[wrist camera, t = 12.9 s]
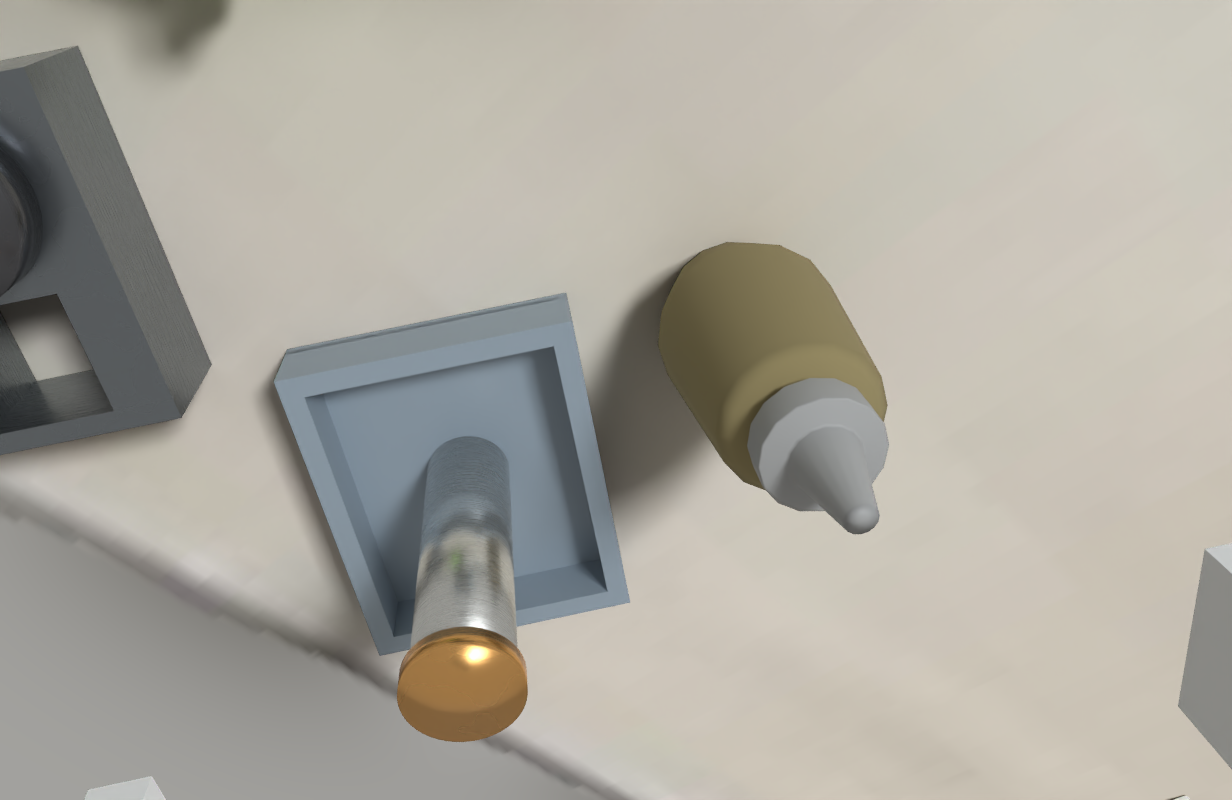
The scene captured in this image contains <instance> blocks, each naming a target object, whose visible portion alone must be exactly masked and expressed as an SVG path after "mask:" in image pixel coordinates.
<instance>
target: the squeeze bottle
mask: <svg viewBox="0 0 1232 800" xmlns="http://www.w3.org/2000/svg"><path fill="white" fill-rule="evenodd" d="M658 347H659V350H660V353H661V356H662V359H663V362H664V365H665V368H666V371H667V374H668V376H669V378H670V379H671V381H672V382H673V384H674V386H675V387H676V389H677V390H678V392H679V393H680V395H681V396H682V398H683V399H684V401H685V403H686V404H687V406H688V407H689V409H690V410H691V412H692V413H693V415H694V416H695V418H696V420H697V421H698V423H699V424H700V426H701V427H702V429H703V430H704V432H705V434H706V435H707V437H708V438H709V440H710V441H711V443H712V444H713V446H714V447H715V449H716V451H717V452H718V454H719V455H720V457H721V458H722V460H723V461H724V462H725V464H726V465H727V466H728V467H729V468H730V469H731V470H732V471H733V472H734V473H735V474H736V475H737V476H738V477H739V478H740V479H741V480H742V481H743V482H745V483H748V484H750V485H753V486H756V487H758V488H761V489H764V490H766V491H767V492H768V493H769V494H770V495H771V496H772V497H773V498H774V499H775V500H776V501H777V502H778V503H779V504H782V505H785V506H787V507H790V508H793V509H795V510H798V511H826V512H827V513H828V514H829V515H830V516H831V517H833V518H834V519H835V520H836V521H837V522H838V523H839V524H840V525H841V526H842V527H843V528H844V529H846V530H847V531H848V532H850V533H852V534H863V533H866V532H868V531H870V530H871V529H873V528H874V527H875V525H876V524H877V523H878V520H879V511H878V507H877V503H876V499H875V495H874V491H873V487H872V483H873V482H874V480H875V479H876V477H877V476H878V475H879V473H880V472H881V470H882V469H883V467H884V464H885V460H886V456H887V451H888V447H889V442H888V437H887V433H886V428H885V423H884V418H885V414H886V410H887V401H886V396H885V391H884V386H883V382H882V377H881V375H880V373H879V371H878V370H877V368H876V366H875V364H874V363H873V361H872V359H871V357H870V355H869V354H868V352H867V350H866V348H865V346H864V345H863V343H862V341H861V339H860V337H859V336H858V334H857V332H856V330H855V328H854V327H853V325H852V323H851V321H850V319H849V318H848V316H847V314H846V312H845V310H844V309H843V307H842V305H841V303H840V302H839V300H838V298H837V296H836V294H835V293H834V291H833V289H832V287H831V285H830V284H829V283H828V282H827V280H826V279H825V278H824V277H823V275H822V274H821V273H820V272H819V270H818V269H817V268H816V267H815V265H814V264H813V263H812V262H811V260H809V259H807V258H805V257H803V256H801V255H799V254H797V253H795V252H793V251H791V250H788V249H786V248H784V247H782V246H780V245H770V244H756V243H734V242H726V243H723V244H720V245H717V246H714V247H712V248H709V249H706V250H703V251H702V252H701V253H699V254H698V255H697V256H696V257H695V258H693V259H692V260H691V261H690V262H689V263H687V264H686V265H685V266H684V267H683V269H682V270H681V272H680V274H679V276H678V278H677V279H676V281H675V283H674V285H673V287H672V289H671V291H670V293H669V296H668V298H667V300H666V303H665V305H664V307H663V309H662V312H661V320H660V330H659V339H658Z"/></svg>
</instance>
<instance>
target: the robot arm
mask: <svg viewBox="0 0 1232 800" xmlns="http://www.w3.org/2000/svg"><path fill="white" fill-rule="evenodd" d="M1178 707H1179V708H1180V709H1181V710H1182V711H1183V713H1184V714H1185V715H1186V716H1187V717H1188V718H1189V720H1190V721H1191V722H1192V723H1193V724H1194V726H1195V727H1196V728H1197V729H1198V730H1199V731H1200V733H1201V734H1202V735H1203V736H1204V737H1205V738H1206V740H1207V741H1208V742H1209V743H1210V744H1211V745H1212V747H1213V748H1214V749H1215V750H1216V751H1217V753H1218V754H1219V755H1220V756H1221V757H1222V758H1223V760H1224V761H1225V762H1226V763H1227V764H1228V765H1229V767H1230V768H1231V769H1232V543H1230V544H1226V545H1221V546H1216V547H1212V548H1207V549H1205V551H1204V557H1203V563H1202V568H1201V574H1200V580H1199V586H1198V592H1197V598H1196V604H1195V609H1194V615H1193V621H1192V627H1191V633H1190V639H1189V645H1188V650H1187V656H1186V662H1185V668H1184V674H1183V680H1182V685H1181V691H1180V697H1179V703H1178ZM84 800H166V799H165V797H164V795H163V794H162V792H161V790H160V788H159V787H158V785H157V783H156V782H155V780H154V779H153V777H152V776H149V777H144V778H139V779H135V780H130V781H126V782H121V783H116V784H111V785H107V786H102V787H98V788H93V789H89V790H88V791H87V794H86V796H85V798H84Z"/></svg>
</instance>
